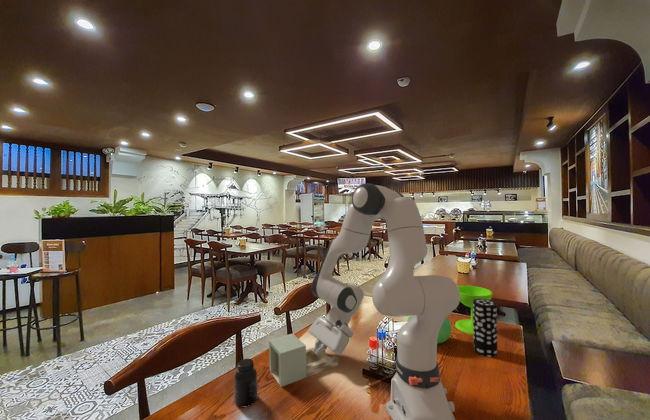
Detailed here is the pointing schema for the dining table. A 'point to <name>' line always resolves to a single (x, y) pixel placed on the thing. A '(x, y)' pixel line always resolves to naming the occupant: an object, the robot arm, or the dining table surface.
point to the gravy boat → (442, 331)
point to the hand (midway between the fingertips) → (315, 353)
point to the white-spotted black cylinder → (485, 327)
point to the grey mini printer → (315, 363)
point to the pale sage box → (288, 358)
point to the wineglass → (470, 304)
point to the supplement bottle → (245, 383)
